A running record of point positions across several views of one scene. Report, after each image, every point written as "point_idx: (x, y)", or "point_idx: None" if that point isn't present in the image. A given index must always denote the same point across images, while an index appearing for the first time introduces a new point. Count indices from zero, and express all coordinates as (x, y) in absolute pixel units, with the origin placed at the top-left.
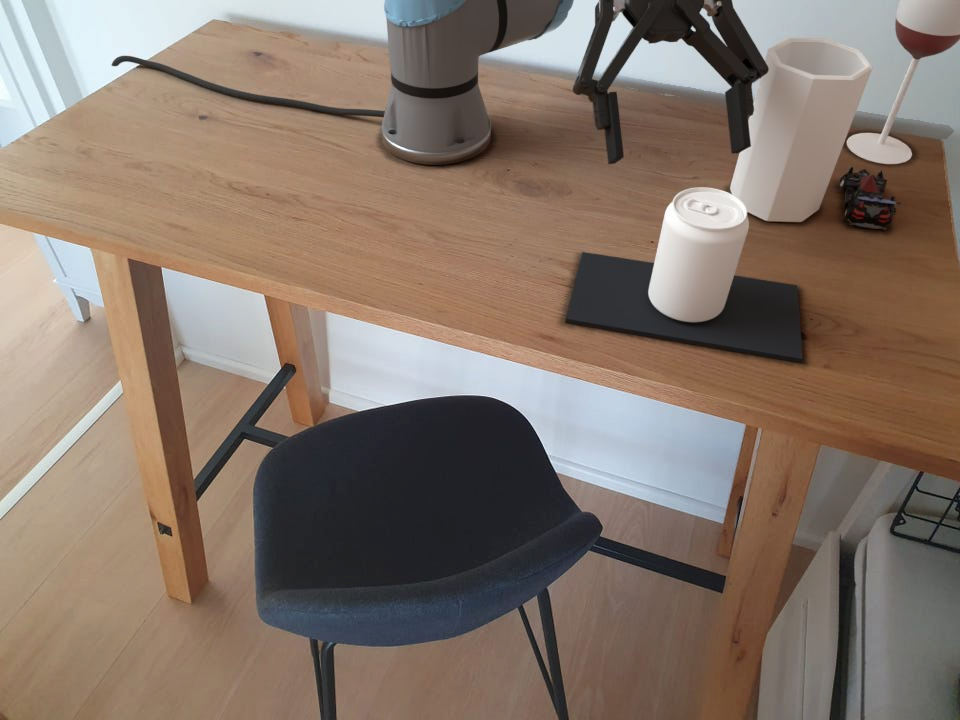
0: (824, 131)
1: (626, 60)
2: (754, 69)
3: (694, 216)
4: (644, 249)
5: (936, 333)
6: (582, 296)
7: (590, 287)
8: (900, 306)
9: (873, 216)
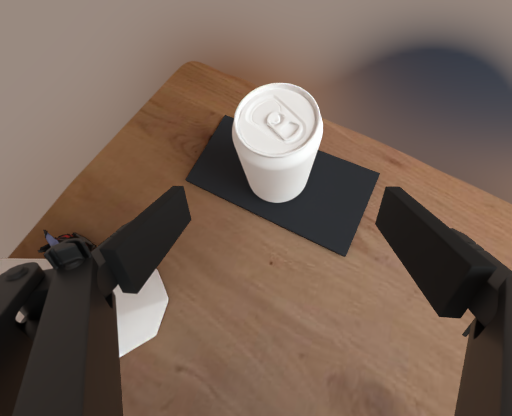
0: (34, 261)
1: (506, 375)
2: (36, 284)
3: (298, 110)
4: (282, 253)
5: (130, 129)
6: (359, 196)
7: (350, 205)
8: (132, 154)
9: (73, 238)
